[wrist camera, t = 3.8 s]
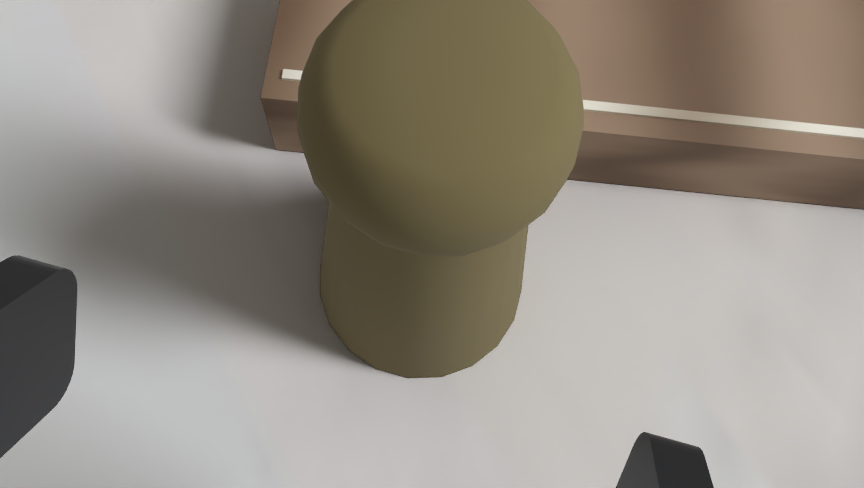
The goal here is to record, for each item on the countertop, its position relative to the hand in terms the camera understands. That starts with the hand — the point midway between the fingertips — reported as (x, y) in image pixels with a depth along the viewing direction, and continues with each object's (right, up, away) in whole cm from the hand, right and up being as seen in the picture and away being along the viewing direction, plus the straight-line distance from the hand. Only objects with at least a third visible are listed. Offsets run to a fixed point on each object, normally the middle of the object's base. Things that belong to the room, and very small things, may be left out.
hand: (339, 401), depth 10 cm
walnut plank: (+9, +7, +15) cm, 18 cm away
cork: (+1, +1, +12) cm, 12 cm away
